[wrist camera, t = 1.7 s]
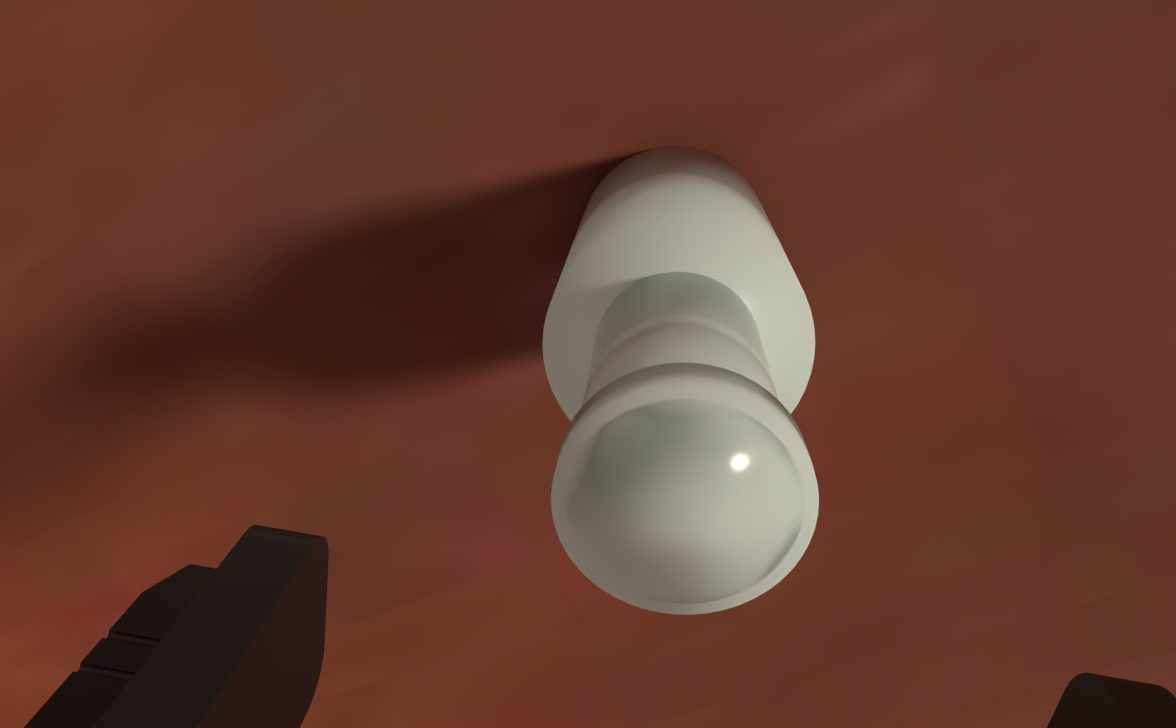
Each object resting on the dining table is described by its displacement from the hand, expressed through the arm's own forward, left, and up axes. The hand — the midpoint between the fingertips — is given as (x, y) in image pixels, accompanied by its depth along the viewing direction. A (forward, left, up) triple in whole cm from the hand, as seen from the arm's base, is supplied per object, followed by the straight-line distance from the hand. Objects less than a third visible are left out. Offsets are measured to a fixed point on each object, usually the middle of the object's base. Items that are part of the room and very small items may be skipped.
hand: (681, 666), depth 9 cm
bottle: (0, 0, -18) cm, 18 cm away
